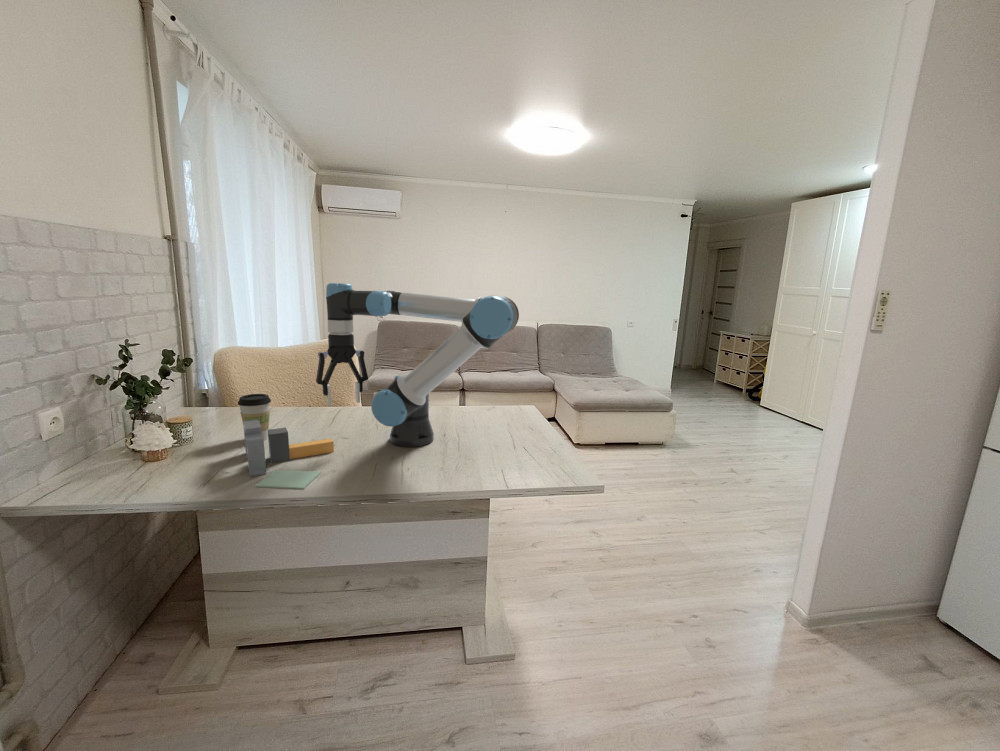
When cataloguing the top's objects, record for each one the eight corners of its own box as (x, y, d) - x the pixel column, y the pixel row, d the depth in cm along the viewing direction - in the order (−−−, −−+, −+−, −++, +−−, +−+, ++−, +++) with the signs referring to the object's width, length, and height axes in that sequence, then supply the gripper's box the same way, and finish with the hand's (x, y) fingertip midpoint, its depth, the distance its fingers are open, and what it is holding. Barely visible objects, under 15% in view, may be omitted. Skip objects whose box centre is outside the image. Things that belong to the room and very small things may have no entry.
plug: (331, 447, 142) (329, 421, 140) (334, 452, 138) (333, 425, 136) (269, 457, 132) (267, 429, 130) (271, 463, 128) (269, 434, 126)
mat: (320, 473, 122) (320, 471, 122) (303, 489, 112) (303, 487, 112) (275, 471, 123) (275, 469, 123) (255, 486, 113) (255, 485, 113)
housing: (260, 450, 137) (257, 414, 135) (266, 473, 121) (263, 433, 118) (245, 452, 135) (242, 416, 133) (249, 476, 119) (246, 435, 116)
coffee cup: (259, 445, 142) (256, 401, 139) (233, 442, 143) (229, 399, 140) (280, 435, 151) (277, 394, 148) (255, 433, 153) (252, 392, 150)
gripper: (370, 331, 143) (372, 397, 148) (302, 333, 132) (306, 404, 136) (377, 333, 137) (379, 402, 141) (306, 335, 126) (310, 410, 130)
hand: (343, 403), depth 139 cm, fingers open, 8 cm apart
